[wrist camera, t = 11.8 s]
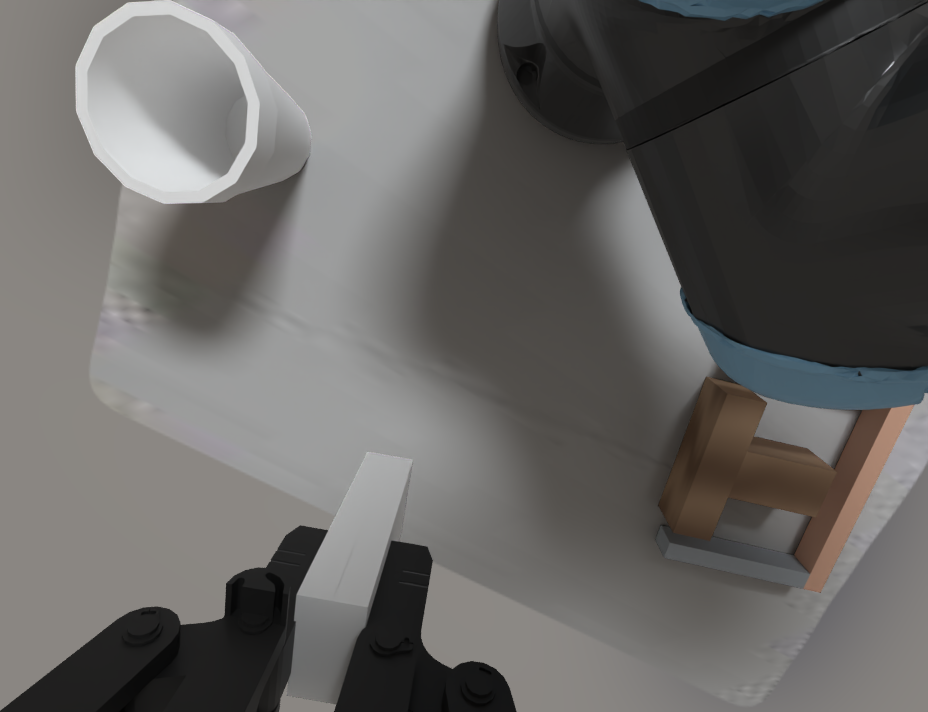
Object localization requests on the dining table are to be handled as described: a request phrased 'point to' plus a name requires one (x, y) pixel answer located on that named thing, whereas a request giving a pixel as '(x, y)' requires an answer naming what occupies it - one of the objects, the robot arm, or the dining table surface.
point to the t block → (737, 464)
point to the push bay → (824, 530)
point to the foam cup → (184, 107)
